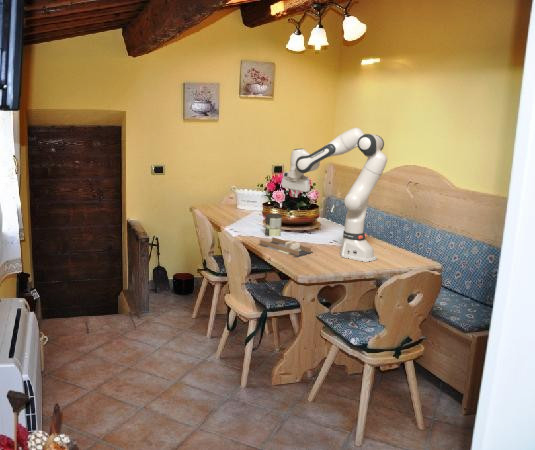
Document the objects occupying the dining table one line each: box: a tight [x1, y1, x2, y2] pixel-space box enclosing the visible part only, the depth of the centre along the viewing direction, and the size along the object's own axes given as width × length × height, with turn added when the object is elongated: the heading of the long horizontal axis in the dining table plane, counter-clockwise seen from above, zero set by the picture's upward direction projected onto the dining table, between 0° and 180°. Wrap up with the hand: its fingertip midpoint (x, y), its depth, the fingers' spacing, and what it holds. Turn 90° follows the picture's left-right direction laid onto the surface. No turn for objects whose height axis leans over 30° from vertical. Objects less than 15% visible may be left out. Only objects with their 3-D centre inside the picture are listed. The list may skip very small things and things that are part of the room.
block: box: [285, 240, 301, 251], centre depth 319 cm, size 6×6×4 cm
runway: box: [257, 236, 314, 258], centre depth 323 cm, size 30×16×4 cm, turn 47°
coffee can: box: [264, 212, 283, 238], centre depth 353 cm, size 10×10×14 cm
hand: (294, 196), depth 335 cm, fingers closed
